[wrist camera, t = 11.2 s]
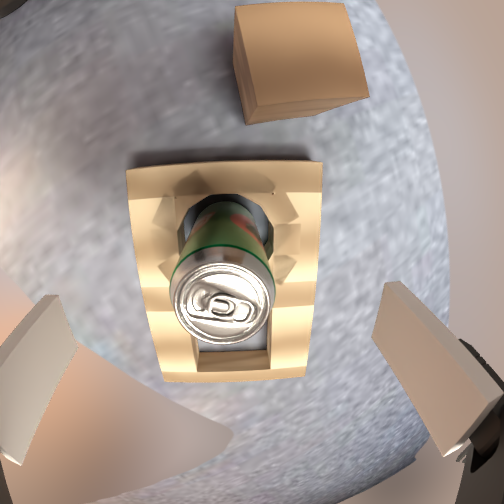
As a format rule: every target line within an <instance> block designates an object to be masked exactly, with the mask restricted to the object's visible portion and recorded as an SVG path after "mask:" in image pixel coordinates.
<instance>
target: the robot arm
mask: <svg viewBox="0 0 504 504" xmlns="http://www.w3.org/2000/svg"><path fill="white" fill-rule="evenodd" d="M26 1H27V0H0V18H2V17H5V16H6V15H8V14H10V13H11V12H13V11H14V10H16V9H17V8H18V7H20V6H21V5H22V4H23V3H25V2H26ZM372 339H373V341H374V342H375V344H376V345H377V347H378V348H379V350H380V351H381V353H382V355H383V356H384V358H385V359H386V361H387V362H388V364H389V366H390V367H391V369H392V370H393V372H394V374H395V375H396V377H397V378H398V380H399V382H400V383H401V385H402V387H403V388H404V390H405V392H406V393H407V395H408V397H409V398H410V400H411V402H412V403H413V405H414V407H415V408H416V410H417V412H418V414H419V415H420V417H421V419H422V421H423V422H424V424H425V426H426V428H427V429H428V431H429V433H430V435H431V436H432V438H433V440H434V442H435V444H436V446H437V447H438V449H439V451H440V453H441V455H442V457H444V456H446V455H448V454H450V453H451V452H453V451H455V450H457V449H459V448H460V447H461V446H462V445H463V444H464V443H465V441H466V440H467V439H468V438H469V439H470V440H471V444H470V445H469V446H468V447H467V448H466V449H465V450H464V451H463V452H462V453H461V454H460V455H459V456H458V458H457V460H456V462H459V461H460V460H461V459H462V458H463V457H464V456H465V455H466V454H467V456H466V458H465V459H464V460H463V461H462V462H463V463H465V466H464V471H463V475H462V480H461V484H460V488H459V491H458V495H457V499H456V502H455V504H504V382H503V381H502V380H501V378H500V377H499V376H498V375H497V374H496V373H495V371H494V370H493V369H492V368H491V367H490V366H489V364H486V361H485V360H484V359H483V358H482V357H480V354H479V353H478V352H477V351H476V350H475V349H474V348H473V347H472V346H471V345H470V344H468V343H467V342H465V341H463V340H462V339H457V338H456V337H455V336H454V334H453V333H452V332H450V330H449V329H448V328H447V327H446V326H445V325H444V324H443V323H442V322H441V321H440V320H439V319H438V318H437V317H436V316H435V315H434V314H433V313H432V312H431V311H430V310H429V309H428V308H427V307H426V306H425V305H424V304H423V303H422V302H421V301H420V300H419V299H418V298H417V297H416V296H415V295H414V294H413V293H412V292H411V291H410V290H409V289H408V288H407V287H406V286H405V285H404V284H403V283H401V282H400V281H396V282H387V283H385V284H384V289H383V293H382V298H381V302H380V306H379V311H378V315H377V319H376V322H375V326H374V330H373V334H372ZM77 349H78V346H77V343H76V341H75V338H74V336H73V334H72V331H71V329H70V326H69V323H68V321H67V318H66V315H65V313H64V310H63V307H62V304H61V301H60V298H59V295H45V296H44V297H43V298H42V299H41V300H40V301H39V302H38V303H37V304H36V305H35V306H34V307H33V309H32V310H31V311H30V312H29V313H28V314H27V315H26V316H25V318H24V319H23V320H22V321H21V322H20V323H19V325H18V326H17V327H16V328H15V329H14V330H13V332H12V333H11V334H10V335H9V336H8V338H7V339H6V340H5V341H4V343H3V344H2V345H1V346H0V452H1V453H2V454H3V455H4V456H5V457H6V458H7V459H9V460H11V461H13V462H15V463H17V464H19V465H21V466H22V464H23V461H24V458H25V456H26V453H27V451H28V448H29V446H30V443H31V441H32V438H33V436H34V434H35V431H36V429H37V427H38V425H39V423H40V420H41V418H42V416H43V414H44V412H45V410H46V408H47V405H48V404H49V401H50V399H51V397H52V395H53V393H54V391H55V389H56V388H57V385H58V384H59V382H60V380H61V378H62V376H63V374H64V372H65V370H66V369H67V367H68V365H69V363H70V361H71V360H72V358H73V356H74V354H75V352H76V351H77ZM0 504H13V503H12V500H11V497H10V494H9V491H8V487H7V484H6V480H5V477H4V473H3V469H2V465H1V461H0Z"/></svg>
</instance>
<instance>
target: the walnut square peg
mask: <svg viewBox="0 0 504 504" xmlns="http://www.w3.org/2000/svg"><path fill="white" fill-rule="evenodd" d="M233 66H234V71H235V76H236V80H237V85H238V90H239V95H240V99H241V104H242V109H243V114H244V119H245V124H246V125H251V124H257V123H263V122H269V121H276V120H283V119H290V118H298V117H307V116H314V115H317V114H320V113H322V112H325V111H328V110H331V109H334V108H337V107H340V106H343V105H346V104H349V103H352V102H355V101H358V100H361V99H364V98H368V97H370V96H369V91H368V87H367V82H366V78H365V73H364V69H363V65H362V61H361V57H360V54H359V50H358V46H357V43H356V39H355V36H354V33H353V29H352V26H351V23H350V20H349V17H348V14H347V11H346V8H345V5H344V3H330V2H276V3H262V4H251V5H242V6H235V18H234V43H233Z"/></svg>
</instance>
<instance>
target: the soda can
mask: <svg viewBox="0 0 504 504" xmlns="http://www.w3.org/2000/svg"><path fill="white" fill-rule="evenodd" d="M169 295H170V300H171V304H172V306H173V308H174V311H175V315H176V317H177V319H178V321H179V323H180V324H181V326H182V327H183V328H184V329H185V330H186V331H187V332H188V333H190V334H191V335H192V336H194V337H195V338H197V339H199V340H202V341H204V342H207V343H211V344H217V345H228V344H235V343H239V342H242V341H245V340H246V339H248V338H250V337H252V336H253V335H255V334H256V333H257V332H258V331H259V330H260V329H261V328H262V327H263V325H264V324H265V322H266V321H267V319H268V316H269V314H270V312H271V310H272V308H273V305H274V302H275V296H276V286H275V281H274V277H273V274H272V271H271V268H270V265H269V262H268V259H267V256H266V253H265V250H264V247H263V244H262V241H261V238H260V235H259V232H258V229H257V226H256V223H255V220H254V218H253V216H252V215H251V213H250V212H249V211H248V210H247V209H246V208H244V207H243V206H241V205H240V204H237V203H234V202H229V201H222V202H217V203H214V204H212V205H210V206H208V207H206V208H205V209H204V210H203V211H202V212H201V213H200V215H199V216H198V218H197V220H196V222H195V224H194V226H193V228H192V231H191V233H190V235H189V237H188V239H187V242H186V244H185V246H184V248H183V250H182V253H181V255H180V257H179V259H178V262H177V264H176V266H175V269H174V271H173V273H172V276H171V279H170V285H169Z"/></svg>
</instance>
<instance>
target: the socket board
mask: <svg viewBox="0 0 504 504" xmlns="http://www.w3.org/2000/svg"><path fill="white" fill-rule="evenodd" d="M322 167H323V163H322V162H317V161H308V160H234V161H210V162H192V163H179V164H167V165H156V166H146V167H138V168H134V169H129V170H126V181H127V192H128V203H129V212H130V220H131V228H132V235H133V242H134V249H135V255H136V261H137V267H138V273H139V278H140V284H141V289H142V294H143V299H144V303H145V308H146V312H147V317H148V321H149V325H150V330H151V334H152V338H153V342H154V345H155V349H156V353H157V357H158V360H159V364H160V367H161V371H162V374H163V377H164V381H165V382H240V381H258V380H272V379H283V378H293V377H302V376H305V372H306V365H307V358H308V350H309V343H310V335H311V327H312V318H313V309H314V299H315V289H316V278H317V266H318V253H319V239H320V222H321V200H322ZM235 193H237V194H239V195H241V196H243V197H245V198H247V199H249V200H251V201H252V202H254V203H256V204H258V205H260V206H261V207H262V209H263V211H264V212H265V214H266V216H267V217H268V219H269V222H268V241H267V243H266V245H265V246H264V250H265V253H266V256H267V259H268V262H269V265H270V268H271V271H272V274H273V277H274V281H275V286H276V296H275V302H274V305H273V308H272V310H271V312H270V314H269V316H268V322H267V350H253V351H232V352H199V348H198V342H197V338H195V337H194V336H192V335H191V334H190V333H188V332H187V331H186V330H185V329H184V328H183V327H182V326H181V324H180V323H179V321H178V319H177V317H176V315H175V311H174V308H173V306H172V304H171V300H170V295H169V285H170V279H171V276H172V273H173V271H174V269H175V266H176V264H177V262H178V259H179V257H180V255H181V253H182V250H183V248H184V246H185V244H186V243H185V235H184V223H183V221H184V219H185V217H186V215H187V213H188V211H189V209H190V207H191V206H193V205H195V204H196V203H198V202H199V201H201V200H202V199H204V198H205V197H207V196H209V195H210V194H235Z"/></svg>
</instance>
